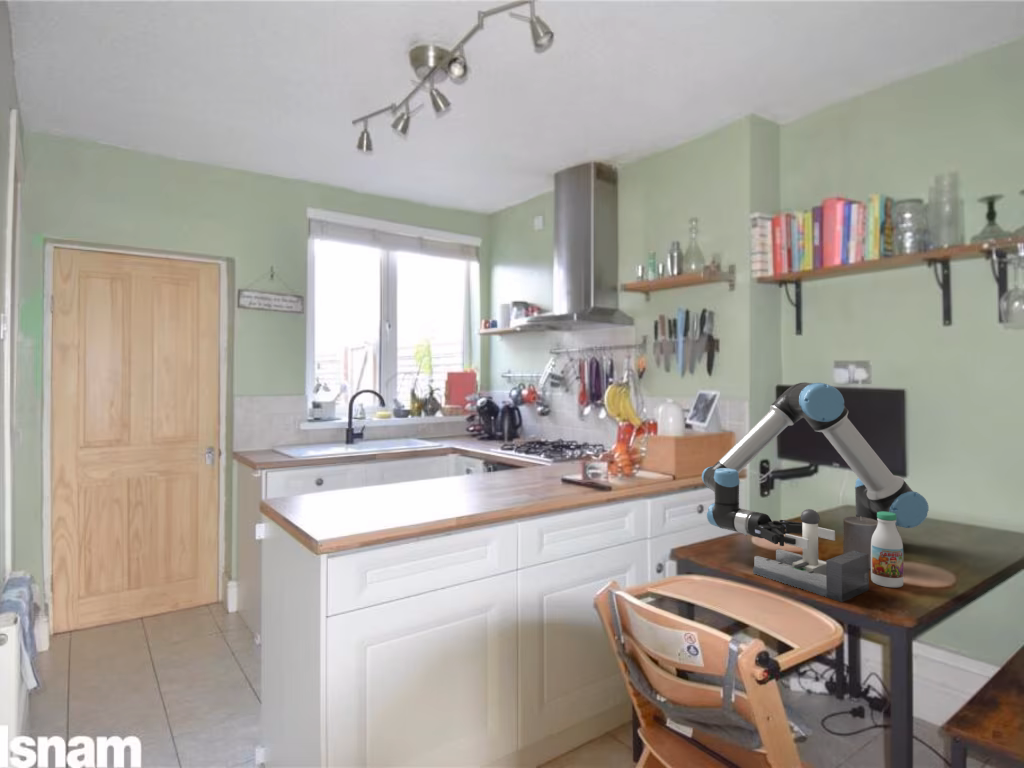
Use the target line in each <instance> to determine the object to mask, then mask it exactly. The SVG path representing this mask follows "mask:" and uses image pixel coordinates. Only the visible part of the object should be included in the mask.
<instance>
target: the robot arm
mask: <svg viewBox="0 0 1024 768" xmlns="http://www.w3.org/2000/svg"><path fill="white" fill-rule="evenodd" d="M843 396H844V395H843V394H842V393H841V392H840V390H839V389H837V388H836V387H835V386H833V385H830V384H827V383H823V382H799V383H795V384H793V385H791V386H790V387H789V388H787V389H786V390H785V391H784V392H783V393H782V394H781V395H779V397H777V399H776V400H775V401H774V402H772V403H771V405H769V411H768V412H767V413H766V414H765V415H763V416H762V417H761V419H760V420H759V421H757V423H756V424H755V425H754V426H752V427H751V429H750V430H749V431H748V432H746V433H745V435H744V436H742V437H741V438H740V439H739V440H738V441H737V442H736V443H735V444H734V446H732V447H731V448H730V449H729V450H728V451H727V452H726V453H725V454H724V455H723V456H722V457H721V458H720V459H719V460H718V461H716V463H715V464H713V465H711V466H708V467H706V468H704V470H703V471H702V473H701V480H702V482H703V484H704V485H705V486H706V487H707V488H708V489H710V490H711V491H713V492H714V503H712V504H710V505H709V506H708V508H707V511H706V519H707V521H708V523H709V524H710V525H712V526H714V527H717V528H720V529H721V530H722V529H723V530H727V531H732V532H737V533H739V534H740V533H741V534H743V535H744V536H752V537H754V538H759V539H764V540H767V541H768V542H770V543H772V544H774V545H779V547H785V545H789V546H792V547H798V548H801V549H803V548H804V549H809V539H806V538H802V536H797V535H793V534H802V521H790V520H784V519H779V520H771V517H770V516H769V515H768V514H766V513H763V512H758V511H754V510H750V509H745V508H740V483H741V481H740V477H739V475H740V474H739V473H741V472H742V470H743V469H745V467H747V465H748V464H750V463H751V462H752V461H753V460H754V459H755V458H756V457H757V456H758V455H759V454H760V453H761V452H762V451H763V450H764V449H765V448H767V446H769V445H770V444H771V442H773V441H774V440H775V439H776V438H777V437H778V436H779V435H780V434H781V433H782V432H783V431H784V430H785V429H786V428H787V427H788V426H789V427H790V426H794V425H795V424H796V423H797V422H798V421H800V420H801V419H804V420H805V421H806V422H807V423H808V425H809V426H810V427H811V428H812V430H814V432H819V433H822V434H823V435H824V437H825V438H826V440H828V441H829V443H830V444H831V445H832V447H833V448H834V450H836V452H837V453H838V454H839V455H840V456H841V458H842V459H843V460H844V461H845V463H846V464H847V466H848V467H849V468H850V469H851V471H852V472H853V473H854V474H855V476H856V477H857V479H856V480H855V486H854V489H855V491H854V492H855V517H860V516H861V517H866V518H870V519H874V520H877V512H882V511H884V512H892V513H895V514H896V523H895V524H896V528H897V531H898V533H899V535H900V536H901V533H900V532H899V529H898V527H900V528H904V529H913V528H916V527H918V526H920V525H921V524H923V522H925V520H926V519H927V517H928V513H929V511H930V510H929V503H928V500H927V499H926V498H925V497H924V496H923V495H922V494H920V493H919V492H916V491H914V490H912V488H911V487H910V486H909V484H908V483H907V482H906V481H905V480H904V478H903V477H901V476H899V475H894V474H893V473H892V472H891V471H890V469H889V468H888V466H887V465H886V464H885V463H884V462H883V460H882V459H881V458H880V456H879V455H878V454H877V453H876V452H875V450H874V449H873V448H872V447H871V446H870V444H869V443H868V442H867V440H866V439H865V438H864V437H863V436H862V435H863V434H861V433H860V432H859V430H858V429H857V428H856V426H855V425H854V424H853V423H852V421H851V420H850V419H849V418H848V414H849V410H848V409H847V407H846V406H845V399H844V397H843ZM877 521H878V520H877ZM818 538H821V539H826V540H830V541H836V531H835V530H834V529H830V528H824V527H820V526H818Z"/></svg>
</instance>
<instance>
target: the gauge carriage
mask: <svg viewBox="0 0 1024 768" xmlns="http://www.w3.org/2000/svg"><path fill="white" fill-rule="evenodd" d="M800 521H801V523H802V535H801V537H802V538H806V539H809V549H804V548H802V555H803V559H802V560H799V561H796V562H793V563H792V566H794V568H797V569H800V568H803V569H806V570H809V571H814V572H816V573H819V574H823V575H826V562H823V561H824V560H822V561H820V560H821V559H819V537H818V527H819V522H820V521H821V520H820V514H819V513H818V512H817V511H816V510H814V509H811V508H807V509H804V510H803V511H802V512H801V514H800Z"/></svg>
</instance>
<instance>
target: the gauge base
mask: <svg viewBox="0 0 1024 768" xmlns="http://www.w3.org/2000/svg"><path fill="white" fill-rule="evenodd" d="M802 559H803V554H799V553H796V552H792V551H787V550H784V549H781V548H779V549H775V559H771V558H766V557H763V556H760V555H755V556H754V561H753V562H754V566H753V567H752V574H753V573H754V574H753V575H755V574H757V575H756V576H758V575H760V576H759V577H761V576H763V577H762V578H765V577H766V579H768V578H769V579H768V580H771V579H773V580H772V581H774V580H776V581H775V582H777V581H779V582H778V583H780V582H782V583H781V584H783V583H784V585H786V584H788V585H787V586H790V585H791V586H790V587H793V586H794V587H793V588H796V587H797V588H796V589H799V588H801V589H800V590H802V589H804V590H803V591H805V590H808V591H810V592H809V593H811V592H813V593H812V594H815V593H816V595H817V596H821V597H824V596H825V598H828V599H831V600H834V601H837V602H840V603H843V602H845V601H848V600H850V599H852V598H854V597H856V596H859V595H861V594H863V593H866V592H868V591H869V590H870V569H869V554H867V553H862V552H858V551H854V550H853V551H850V552H848V553H845V554H843V553H842V554H840V555H837V556H834V557H832V558H829V559H826V560H822V559H819V560H820V561H823V562H826V575H823V574H819V573H816V572H814V571H809V570H806V569H803V568H800V569H797V568H794V566H792V563H793V562H796V561H799V560H802ZM808 591H807V592H808Z"/></svg>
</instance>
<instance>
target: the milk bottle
mask: <svg viewBox="0 0 1024 768" xmlns="http://www.w3.org/2000/svg"><path fill="white" fill-rule="evenodd" d="M877 520H878V525H877V528H876V530H875V531H874V533H873V536H872V539H871V569H870V580H871V582H872V583H873V584H875V585H878V586H881V587H886V588H895V589H896V588H902V587H903V586H904V544H903V543H904V542H903V539H902V537H901V534H900V532H899V533H898V531H899V530H898V531H897V529H898V527H897V528H896V524H895V523H896V514H895V513H892V512H884V511H882V512H877ZM899 534H900V535H899Z"/></svg>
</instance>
